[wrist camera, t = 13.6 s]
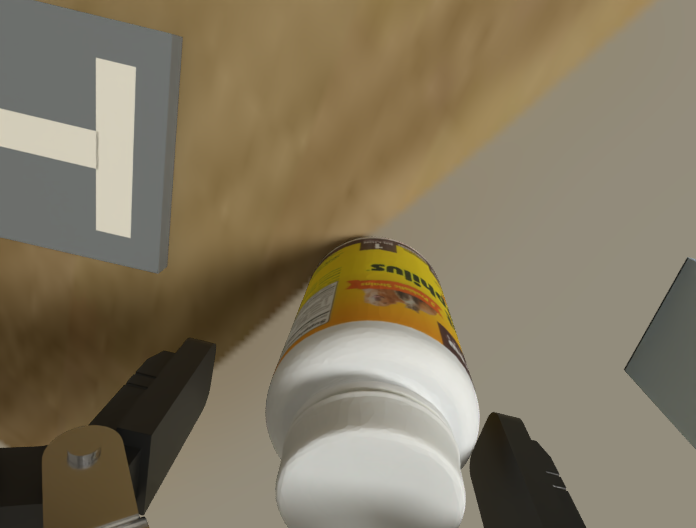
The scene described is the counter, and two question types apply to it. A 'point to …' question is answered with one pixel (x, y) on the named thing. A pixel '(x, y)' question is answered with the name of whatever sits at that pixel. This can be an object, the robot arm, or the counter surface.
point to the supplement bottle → (372, 397)
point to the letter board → (87, 133)
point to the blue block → (671, 354)
